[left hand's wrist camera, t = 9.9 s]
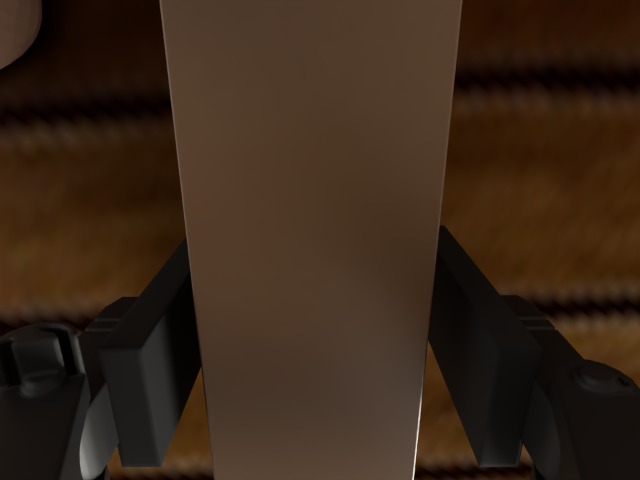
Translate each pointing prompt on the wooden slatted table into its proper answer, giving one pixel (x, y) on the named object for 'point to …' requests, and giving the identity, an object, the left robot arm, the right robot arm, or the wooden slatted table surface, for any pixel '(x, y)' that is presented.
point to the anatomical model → (18, 27)
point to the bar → (312, 223)
